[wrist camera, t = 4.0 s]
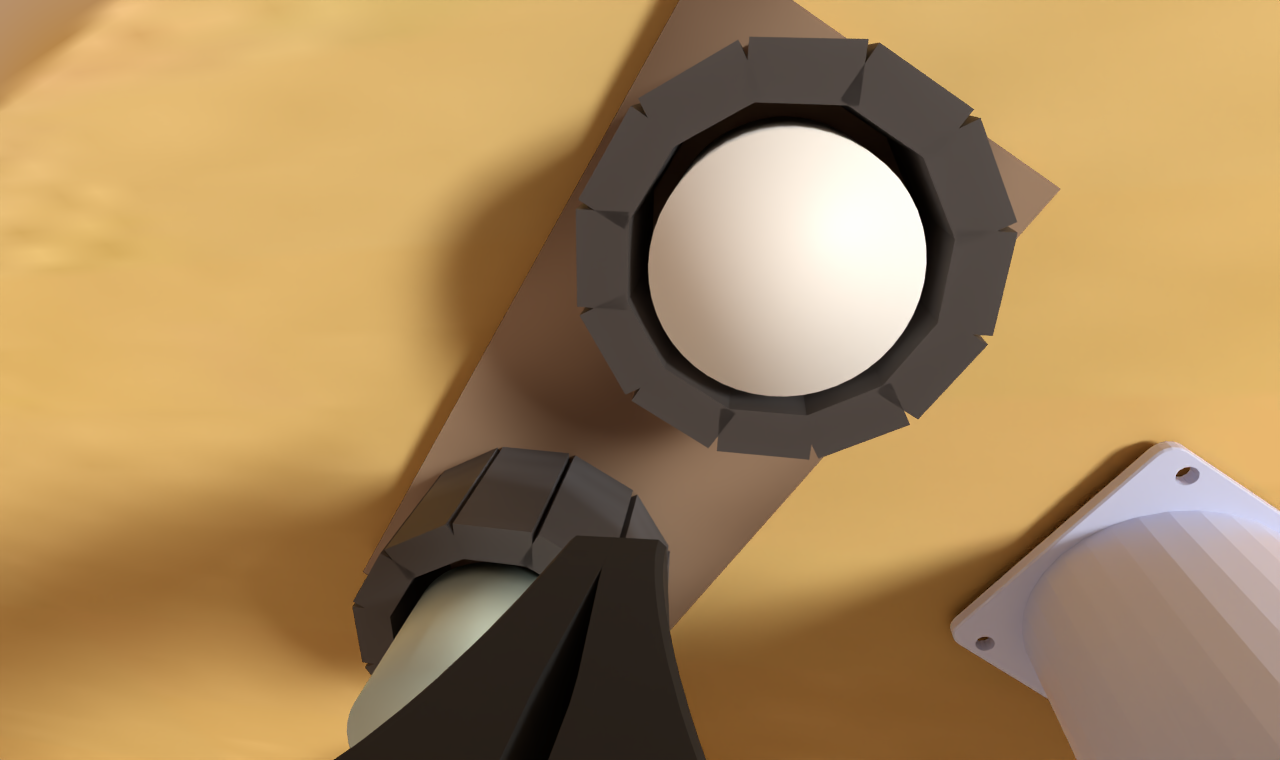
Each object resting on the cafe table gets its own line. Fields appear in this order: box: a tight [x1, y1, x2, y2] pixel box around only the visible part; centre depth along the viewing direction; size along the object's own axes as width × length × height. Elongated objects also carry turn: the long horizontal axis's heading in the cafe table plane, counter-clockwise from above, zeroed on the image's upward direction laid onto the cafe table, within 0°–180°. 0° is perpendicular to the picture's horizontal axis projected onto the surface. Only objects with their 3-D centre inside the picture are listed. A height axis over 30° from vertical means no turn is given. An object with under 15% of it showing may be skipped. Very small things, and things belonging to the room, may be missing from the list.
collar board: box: [353, 0, 1060, 675], centre depth 18 cm, size 9×20×4 cm, turn 148°
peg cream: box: [648, 116, 926, 396], centre depth 15 cm, size 5×5×4 cm
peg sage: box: [347, 562, 540, 748], centre depth 17 cm, size 5×5×4 cm
